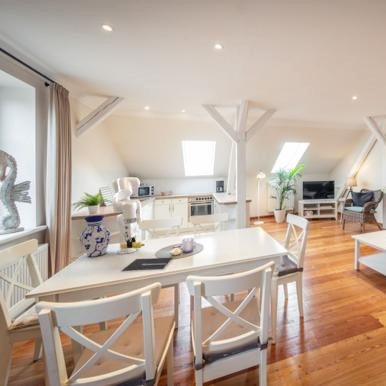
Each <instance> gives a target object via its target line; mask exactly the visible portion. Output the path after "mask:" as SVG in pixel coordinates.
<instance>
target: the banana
mask: <svg viewBox="0 0 386 386" xmlns="http://www.w3.org/2000/svg"><path fill="white" fill-rule="evenodd" d="M120 247H121V248H123V249H124V248H127V242H126V243H121V245H120V244H119V248H120ZM142 247H145V243H142V242H141V241H136V242H132V248H136V249H141V248H142Z"/></svg>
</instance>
